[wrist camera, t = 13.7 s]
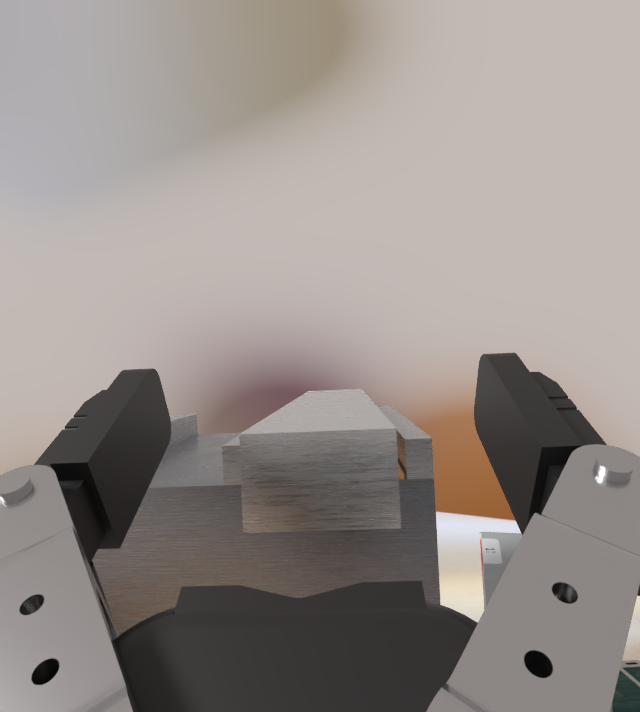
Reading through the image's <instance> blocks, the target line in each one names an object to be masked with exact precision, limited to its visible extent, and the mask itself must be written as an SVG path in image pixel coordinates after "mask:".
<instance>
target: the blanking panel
mask: <svg viewBox="0 0 640 712" xmlns="http://www.w3.org/2000/svg"><path fill="white" fill-rule="evenodd" d="M239 441H240V467H241V492H242V517H243V533H256V532H291V531H327V530H363V529H398V528H401V515H400V495H399V475H398V454H397V434H396V427H395V426H394V425H393V424H392V423H391V422H390V421H389V420H388V418H387V417H386V416H385V415H384V414H383V413H382V412H381V410H380V409H379V408H378V407H377V406H376V405H375V404H374V402H373V401H372V400H371V399H370V398H369V397H368V396H367V395H366V393H365V392H364V391H363V390H362V389H348V390H325V391H308V392H307V393H305V394H303V395H302V396H300V397H299V398H297V399H295V400H294V401H292V402H291V403H289V404H287V405H286V406H284V407H282V408H281V409H279V410H278V411H276V412H274V413H273V414H271V415H270V416H268V417H266V418H265V419H263V420H262V421H260V422H258V423H257V424H255V425H254V426H252V427H250V428H249V429H247V430H245V431H244V432H242V433H241V434H239Z"/></svg>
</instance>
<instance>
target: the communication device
mask: <svg viewBox="0 0 640 712" xmlns="http://www.w3.org/2000/svg"><path fill="white" fill-rule="evenodd" d="M612 708H613V712H640V661H639V660H632V661H622V662H621V666H620V671H619V675H618V679H617V684H616V688H615V692H614V696H613V701H612Z"/></svg>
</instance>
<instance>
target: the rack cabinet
mask: <svg viewBox="0 0 640 712" xmlns="http://www.w3.org/2000/svg"><path fill="white" fill-rule="evenodd" d="M377 407H378V408H379V409H380V410H381V412H382V413H383V414H384V415H385V416H386V417H387V418H388V420H389V421H390V422H391V423H392V424H393V425H394V426H395V427H396V434H397V454H398V475H399V495H400V515H401V528H398V529H363V530H327V531H291V532H256V533H243V517H242V492H241V467H240V441H239V434H241V433H221V434H198V432H197V414H182V415H179V416H175V417H171V418H170V421H171V438H170V442H169V445H168V447H167V449H166V451H165V454H164V456H163V458H162V460H161V462H160V464H159V466H158V468H157V471H156V473H155V475H154V477H153V479H152V481H151V483H150V485H149V488H148V490H147V492H146V494H145V496H144V498H143V500H142V502H141V505H140V507H139V509H138V511H137V513H136V515H135V517H134V519H133V522H132V524H131V526H130V528H129V530H128V532H127V534H126V536H125V539H124V541H123V543H122V545H121V547H120V548H118V549H98V550H97V552H96V554H95V556H94V557H93V559H92V561H93V563H94V565H95V568H96V570H97V573H98V576H99V579H100V581H101V584H102V587H103V590H104V592H105V595H106V598H107V601H108V603H109V606H110V609H111V612H112V614H113V617H114V620H115V623H116V625H117V628H118V631H119V633H120V635H121V634H122V633H123V632H125V631H126V630H128V629H129V628H131V627H132V626H134V625H136V624H137V623H139V622H141V621H143V620H145V619H147V618H149V617H151V616H153V615H155V614H157V613H160V612H163V611H165V610H168V609H171V608H175V607H176V604H177V600H178V597H179V594H180V590H181V587H185V586H227V585H241V586H245V587H250V588H254V589H258V590H263V591H267V592H271V593H276V594H280V595H285V596H289V597H294V598H304V597H308V596H312V595H316V594H320V593H323V592H327V591H331V590H335V589H338V588H342V587H346V586H350V585H353V584H357V583H361V582H395V581H422V585H423V590H424V596H425V601H428V602H432V603H436V604H439V605H440V589H439V569H438V550H437V530H436V511H435V493H434V492H435V491H434V472H433V454H432V438H431V437H430V436H428V435H427V434H426V433H424V432H423V431H422V430H421V429H419V428H418V427H417V426H416V425H414V424H413V423H412V422H411V421H409V420H408V419H407V418H405V417H404V416H403V415H401V414H400V413H399V412H398V411H397V410H395V409H394V408H393V407H392V406H377Z"/></svg>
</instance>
